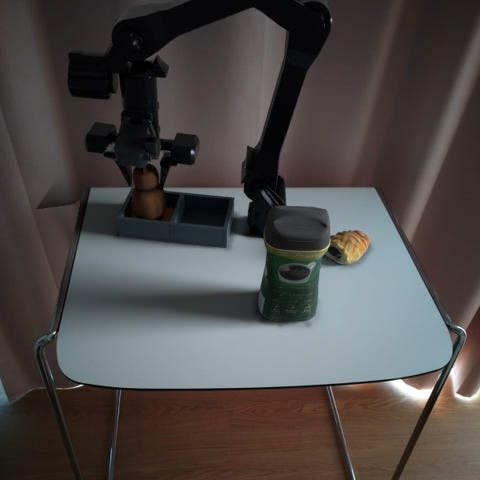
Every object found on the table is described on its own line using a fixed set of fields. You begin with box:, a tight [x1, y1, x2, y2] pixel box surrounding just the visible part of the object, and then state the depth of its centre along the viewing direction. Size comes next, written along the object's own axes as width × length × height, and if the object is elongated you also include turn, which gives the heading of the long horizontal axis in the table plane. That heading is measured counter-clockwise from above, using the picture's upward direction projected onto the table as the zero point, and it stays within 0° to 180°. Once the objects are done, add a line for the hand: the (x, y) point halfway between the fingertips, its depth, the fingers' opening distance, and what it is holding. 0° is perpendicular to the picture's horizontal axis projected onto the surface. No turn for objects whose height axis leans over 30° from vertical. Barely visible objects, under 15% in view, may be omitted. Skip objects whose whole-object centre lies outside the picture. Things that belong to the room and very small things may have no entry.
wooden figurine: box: [132, 162, 165, 221], centre depth 90 cm, size 7×6×15 cm
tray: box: [115, 186, 235, 248], centre depth 94 cm, size 20×11×4 cm, turn 83°
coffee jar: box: [257, 205, 331, 323], centre depth 75 cm, size 10×8×19 cm
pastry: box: [323, 229, 371, 265], centre depth 91 cm, size 9×7×4 cm
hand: (146, 186), depth 90 cm, fingers open, 5 cm apart
